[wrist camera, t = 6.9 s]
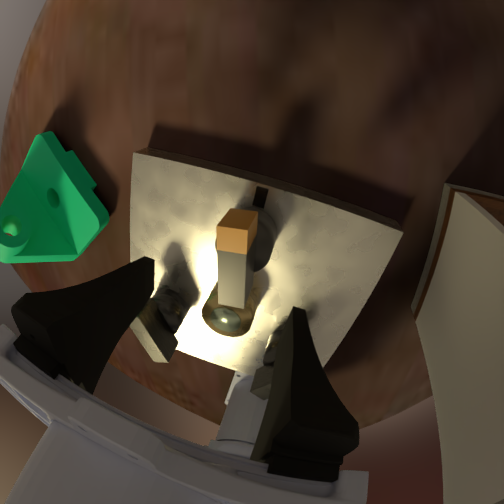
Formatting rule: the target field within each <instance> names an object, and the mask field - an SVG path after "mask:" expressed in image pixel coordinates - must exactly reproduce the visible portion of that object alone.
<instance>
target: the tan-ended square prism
mask: <svg viewBox="0 0 504 504" xmlns="http://www.w3.org/2000/svg"><path fill="white" fill-rule="evenodd" d="M276 239H277V227H276V224H275V222H274V221H273V219H272V218H271V217H270V216H269V215H268V214H267V213H266V212H264V211H263V210H260V209H258V208H253V207H246V208H241V209H234V208H230V209H229V211H228V212H227V213H226V214H225V216H224V217H223V218H222V219H221V221H220V222H219V223H218V224H217V226H216V240H215V249H216V252H217V272H218V304H221V305H226V306H231V307H236V308H242V309H244V308H245V305H246V302H247V300H248V297H249V294H250V292H251V289H252V286H253V278H254V272H257V271H259V270H261V269H262V268H264V267H265V266H266V265H267V263H268V262H269V260H270V257H271V254H272V251H273V248H274V245H275V242H276Z"/></svg>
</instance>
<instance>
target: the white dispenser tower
mask: <svg viewBox="0 0 504 504" xmlns="http://www.w3.org/2000/svg"><path fill="white" fill-rule="evenodd" d="M411 309H412V312H413V315H414V319H415V322H416V325H417V329H418V332H419V336H420V340H421V343H422V347H423V351H424V355H425V359H426V364H427V368H428V372H429V377H430V382H431V387H432V392H433V397H434V402H435V408H436V414H437V421H438V428H439V436H440V445H441V455H442V467H443V493H444V495H443V496H444V504H504V196H501V195H497V194H493V193H489V192H485V191H480V190H476V189H472V188H467V187H463V186H458V185H453V184H448V183H444V187H443V193H442V198H441V203H440V208H439V212H438V217H437V221H436V226H435V230H434V234H433V238H432V241H431V245H430V249H429V252H428V256H427V259H426V263H425V266H424V269H423V272H422V276H421V279H420V282H419V285H418V288H417V291H416V293H415V296H414V299H413V302H412V304H411Z"/></svg>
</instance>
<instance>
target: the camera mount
mask: <svg viewBox="0 0 504 504" xmlns="http://www.w3.org/2000/svg"><path fill="white" fill-rule="evenodd" d="M96 186H97V184H96V183H95V182H94V180H93V179H92V177H91V176H90V175H89V173H88V172H87V170H86V169H85V168H84V166H83V165H82V163H81V162H80V160H79V159H78V157H77V156H76V154H75V153H74V151H73V150H71V151H68V152H66V151H65V150H64V148H63V147H62V145H61V144H60V142H59V141H58V139H57V137H56V136H55V134H54V133H53V132H52V131H48V132H45V133H42V134H38V135H37V136H36V137H35V139H34V141H33V143H32V145H31V147H30V150H29V152H28V154H27V157H26V159H25V161H24V164H23V166H22V169H21V171H20V173H19V174H18V176H17V178H16V179H15V181H14V183H13V185H12V186H11V188H10V190H9V192H8V194H7V195H6V197H5V199H4V201H3V203H2V205H1V207H0V261H1V262H3V263H27V262H55V261H74V260H75V259H76V258H77V257H78V256H80V255H81V254H82V253H83V252H84V250H85V249H86V248H87V247H88V246H89V244H90V243H91V242H92V241H93V240H94V239H95V237H96V236H97V235H98V234H99V233H100V232H101V231H102V229H103V228H104V227H105V226H106V225H107V224H108V222H109V214H108V211H107V210H106V208H105V207H104V206H103V204H102V203H101V201H100V200H99V199H98V197H97V196H96V195H95V193H94V192H93V190H94V188H95V187H96ZM5 233H10V234H12V235H13V236H8V235H7V234H5Z"/></svg>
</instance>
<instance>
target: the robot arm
mask: <svg viewBox="0 0 504 504" xmlns="http://www.w3.org/2000/svg"><path fill="white" fill-rule="evenodd" d="M154 276H155V260H154V259H152V258H149V257H146V256H144V257H141V258H139V259H137V260H135V261H133V262H131V263H129V264H127V265H125V266H123V267H121V268H119V269H117V270H114V271H112V272H110V273H108V274H105V275H103V276H101V277H98V278H96V279H94V280H91V281H88V282H85V283H82V284H79V285H75V286H71V287H67V288H63V289H59V290H53V291H46V292H35V293H26V294H25V295H24V296H23V297H21V298H20V299H19V300H18V301H17V302H16V303H15V304H14V305H13V306H12V309H11V312H12V316H13V318H14V321H15V323H16V325H17V327H18V329H19V331H20V333H21V335H20V336H19V337H17V336H16V335H15V334H14V333H13V332H12V331H11V330H10V329H9V328H8V327H7V326H5V325H4V324H2V325H1V326H0V383H1V385H2V386H4V387H5V389H7V391H9V392H10V393H11V394H12V395H13V396H14V397H15V398H16V399H17V400H18V401H19V402H20V403H21V404H22V405H23V406H24V407H26V408H27V409H28V410H29V411H30V412H31V413H32V414H34V415H35V416H36V417H37V418H39V420H41V421H42V422H43V423H44V424H46V425H47V426H48V429H47V430H46V432H45V433H44V435H43V437H42V438H41V440H40V441H39V443H38V445H37V446H36V448H35V450H34V451H33V453H32V455H31V456H30V458H29V460H28V461H27V463H26V465H25V467H24V468H23V470H22V472H21V474H20V475H19V477H18V479H17V481H16V483H15V484H14V486H13V488H12V490H11V492H10V494H9V496H8V498H7V500H6V501H5V504H366V501H367V490H368V474H369V473H368V472H367V471H354V470H342V471H339V467H340V465H342V463H343V456H345V455H346V454H348V453H350V452H351V451H353V450H354V449H355V448H357V447H358V445H359V427H358V422H357V421H356V420H355V419H354V417H353V416H352V415H351V414H350V413H349V411H348V410H347V409H346V408H345V406H344V405H343V403H342V402H341V401H340V399H339V397H338V396H337V394H336V392H335V391H334V389H333V388H332V386H331V384H330V382H329V380H328V378H327V376H326V374H325V372H324V370H323V367H322V365H321V363H320V360H319V357H318V355H317V352H316V349H315V346H314V342H313V339H312V335H311V332H310V327H309V323H308V318H307V312H306V310H305V309H301V308H298V307H295V306H293V307H292V310H291V312H290V314H289V317H288V319H287V321H286V323H285V325H284V328H283V330H282V332H281V335H280V339H279V342H278V346H277V350H276V356H275V363H274V369H273V376H272V383H271V389H270V394H269V398H268V399H266V400H262V399H260V398H259V397H257V396H256V395H254V394H252V393H251V392H250V389H251V386H252V382H253V379H254V376H251V375H248V374H245V373H242V372H239V371H236V372H235V374H234V377H233V380H232V383H231V386H230V389H229V392H228V394H227V397H226V400H225V404H227V408H226V411H225V414H224V417H223V419H222V422H221V425H220V428H219V431H218V434H217V437H216V440H211V441H210V443H209V446H202V445H199V444H196V443H193V442H191V441H188V440H185V439H183V438H180V437H177V436H175V435H172V434H170V433H167V432H165V431H162V430H160V429H158V428H156V427H153V426H151V425H149V424H147V423H145V422H142V421H140V420H138V419H136V418H134V417H132V416H130V415H128V414H126V413H124V412H122V411H120V410H118V409H116V408H114V407H113V406H111V405H109V404H107V403H105V402H104V401H102V400H100V399H98V398H96V397H95V396H93V392H94V390H95V387H96V384H97V382H98V380H99V378H100V376H101V373H102V371H103V369H104V367H105V365H106V363H107V361H108V359H109V357H110V355H111V353H112V352H113V350H114V348H115V346H116V345H117V343H118V341H119V340H120V338H121V337H122V335H123V334H124V332H125V331H126V330H127V328H128V327H129V326H130V325H131V323H132V322H133V321H134V319H135V318H136V317H137V316H138V314H139V313H140V312H141V310H142V309H143V308H144V306H145V305H146V303H147V302H148V300H149V298H150V297H151V295H152V293H153V291H154Z"/></svg>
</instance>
